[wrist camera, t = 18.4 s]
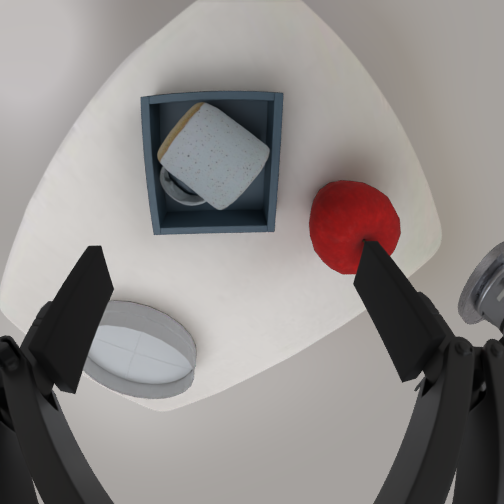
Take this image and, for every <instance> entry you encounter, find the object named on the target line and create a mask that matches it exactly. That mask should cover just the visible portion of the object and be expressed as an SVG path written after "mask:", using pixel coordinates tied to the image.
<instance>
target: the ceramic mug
mask: <svg viewBox="0 0 504 504" xmlns="http://www.w3.org/2000/svg"><path fill="white" fill-rule="evenodd" d="M269 151H270V149H269V148H268V146H267V145H265V144H264V143H263V142H262V141H260V140H259V139H258V138H256V137H255V136H254V135H253V134H251V133H250V132H249V131H247V130H246V129H245V128H244V127H242V126H241V125H239V124H238V123H237V122H235V121H234V120H233V119H231V118H230V117H229V116H227V115H226V114H225V113H223V112H222V111H221V110H219V109H218V108H216V107H214V106H212V105H210V104H208V103H205V102H200V103H196V104H195V105H194V106H192V107H191V108H190V109H189V110H188V111H187V112H186V114H185V115H184V116H183V117H182V118H181V119H180V120H179V121H178V123H177V124H176V125H175V127H174V128H173V129H172V130H171V131H170V133H169V134H168V136H167V137H166V139H165V140H164V142H163V143H162V145H161V147H160V148H159V150H158V153H157V157H158V160H159V162H160V163H161V164H162V165H163V167H162V169H161V171H160V182H161V185H162V187H163V189H164V190H165V191H166V193H167V194H168V195H169V196H170V197H172V198H173V199H174V200H176V201H177V202H179V203H182V204H184V205H190V206H193V205H199V204H203V203H205V202H208V203H209V204H211V205H212V206H213V207H214V208H216V209H218V210H222V209H224V208H226V207H228V206H229V205H230V204H232V203H233V202H234V201H235V200H236V199H238V197H239V196H240V195H241V194H242V193H243V192H244V191H245V190H246V189H247V188H248V186H249V185H250V184H251V183H252V181H253V180H254V179H255V178H256V177H257V175H258V174H259V173H260V171H261V170H262V168H263V167H264V165H265V162H266V161H267V159H268V157H269ZM168 171H169V172H170V173H171V174H172V175H174V176H175V177H176V178H178V179H179V180H181V181H182V182H184V183H185V184H186V185H187V186H188V187H190V188H191V189H192V190H193V191H195V192H196V193H197V194H198V196H195V195H189V194H187V193H185V192H184V191H182V190H181V189H180V188H179V187H178V186H177V185H175V184H174V182H173V181H172V180H170V178H169V175H168Z"/></svg>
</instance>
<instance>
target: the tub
mask: <svg viewBox="0 0 504 504" xmlns="http://www.w3.org/2000/svg"><path fill="white" fill-rule="evenodd" d="M200 102H205V103H208V104H210V105H212V106H214V107H216V108H218V109H219V110H221V111H222V112H223V113H225V114H226V115H227V116H229V117H230V118H231V119H233V120H234V121H235V122H237V123H238V124H239V125H241V126H242V127H244V128H245V129H246V130H247V131H249V132H250V133H251V134H253V135H254V136H255V137H256V138H258V139H259V140H260V141H262V142H263V143H264V144H265V145H267V146H268V148H269V149H270V151H269V157H268V159H267V161H266V162H265V165H264V167H263V168H262V170H261V171H260V173H259V174H258V175H257V177H256V178H255V179H254V180H253V181H252V183H251V184H250V185H249V186H248V188H247V189H246V190H245V191H244V192H243V193H242V194H241V195H240V196H239V197H238V199H236V200H235V201H234V202H233V203H232V204H230V205H229V206H228V207H226V208H224V209H222V210H218V209H216V208H214V207H213V206H212V205H211V204H209V203H208V202H205V203H203V204H199V205H193V206H190V205H184V204H182V203H179V202H177V201H176V200H174V199H173V198H172V197H170V196H169V195H168V194H167V193H166V191H165V190H164V189H163V187H162V185H161V182H160V171H161V169H162V167H163V165H162V164H161V163H160V162H159V160H158V157H157V153H158V150H159V148H160V147H161V145H162V143H163V142H164V140H165V139H166V137H167V136H168V134H169V133H170V131H171V130H172V129H173V128H174V127H175V125H176V124H177V123H178V121H179V120H180V119H181V118H182V117H183V116H184V115H185V114H186V112H187V111H188V110H189V109H190V108H191V107H192V106H194V105H195V104H196V103H200ZM282 111H283V93H278V92H259V91H206V92H187V93H174V94H163V95H154V96H145V97H141V119H142V135H143V149H144V160H145V171H146V180H147V189H148V197H149V205H150V212H151V219H152V226H153V232H154V235H167V234H200V233H243V232H274V231H275V218H276V205H277V191H278V177H279V162H280V146H281V129H282ZM168 175H169V178H170V180H172V181H173V182H174V184H175V185H177V186H178V187H179V188H180V189H181V190H182V191H184V192H185V193H187V194H189V195H195V196H198V194H197V193H196V192H195V191H193V190H192V189H191V188H190V187H188V186H187V185H186V184H185V183H184V182H182V181H181V180H179V179H178V178H176V177H175V176H174V175H172V174H171V173H170V172H169V171H168Z"/></svg>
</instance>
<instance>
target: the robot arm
mask: <svg viewBox="0 0 504 504" xmlns="http://www.w3.org/2000/svg"><path fill="white" fill-rule="evenodd" d="M353 285H354V286H355V288H356V290H357V292H358V294H359V296H360V297H361V299H362V301H363V303H364V305H365V307H366V309H367V311H368V313H369V315H370V317H371V318H372V320H373V322H374V324H375V326H376V328H377V330H378V332H379V334H380V336H381V338H382V340H383V342H384V345H385V347H386V349H387V351H388V353H389V355H390V357H391V359H392V361H393V363H394V366H395V368H396V370H397V372H398V374H399V376H400V379H401V381H402V382H405V381H409V380H412V379H416V378H417V377H418V375H419V374H420V373H421V371H422V370H423V372H424V374H425V377H424V378H423V379H422V381H421V382H420V383H419V384H418V385H417V387H416V388H415V390H414V391H417V390H418V389H419V387H420V390H419V394H418V397H417V400H416V404H415V407H414V410H413V413H412V416H411V419H410V422H409V425H408V428H407V431H406V433H405V436H404V439H403V441H402V444H401V447H400V449H399V451H398V454H397V456H396V458H395V461H394V463H393V465H392V467H391V470H390V472H389V474H388V476H387V478H386V480H385V482H384V484H383V486H382V488H381V490H380V492H379V494H378V496H377V498H376V500H375V502H374V503H373V504H444V503H445V501H446V498H447V495H448V493H449V490H450V487H451V484H452V481H453V478H454V475H455V471H456V468H457V471H456V481H455V489H454V497H453V502H452V504H504V264H503V265H501V266H500V267H499V268H498V269H497V270H496V271H495V272H494V273H493V274H492V275H491V276H490V278H489V279H488V280H487V282H486V283H485V285H484V286H483V288H482V290H481V291H480V293H479V295H478V298H477V301H476V305H475V309H476V311H477V313H478V314H479V315H480V316H481V317H482V318H483V319H485V320H487V321H488V322H490V323H491V324H493V325H495V326H496V327H498V328H499V330H500V331H501V333H502V334H503V337H502V338H501V339H500V340H499V341H497V340H495V339H490V340H488V341H487V343H486V344H485V345H484V347H473V346H472V344H471V343H470V342H469V341H468V340H466V339H465V338H463V337H455V335H454V334H453V332H452V331H451V329H450V328H449V326H448V325H447V323H446V322H445V320H444V319H443V317H442V316H441V315H440V314H439V312H438V310H437V309H436V308H435V306H434V305H433V303H432V302H431V300H430V299H429V298H428V297H427V296H426V295H424V294H423V293H422V292H417V291H416V290H415V289H414V287H413V286H412V285H411V283H410V282H409V281H408V279H407V278H406V276H405V275H404V274H403V273H402V271H401V270H400V269H399V267H398V266H397V265H396V263H395V262H394V261H393V260H392V258H391V257H390V256H389V255H388V253H387V252H386V251H385V250H384V248H383V247H382V246H381V245H380V243H379V242H378V241H365V243H364V247H363V250H362V254H361V258H360V262H359V265H358V269H357V272H356V276H355V279H354V283H353ZM113 290H114V288H113V285H112V281H111V278H110V275H109V272H108V268H107V265H106V261H105V258H104V254H103V251H102V247H101V246H88V247H87V249H86V250H85V252H84V253H83V254H82V256H81V257H80V259H79V260H78V262H77V263H76V265H75V266H74V268H73V269H72V271H71V272H70V274H69V275H68V277H67V279H66V280H65V282H64V283H63V285H62V287H61V288H60V290H59V291H58V293H57V295H56V296H55V298H54V300H53V301H48V302H47V303H46V304H45V305H44V306H43V307H42V308H41V309H40V311H39V313H38V314H37V316H36V319H35V320H34V322H33V323H32V326H31V327H30V329H29V331H28V333H27V335H26V336H25V338H24V340H23V342H22V344H21V347H20V348H19V346H18V345H17V344H16V342H15V341H14V339H13V338H12V337H11V336H2V337H0V504H39V503H38V500H37V496H36V492H35V489H34V485H33V481H34V483H35V486H36V488H37V490H38V492H39V494H40V496H41V498H42V500H43V502H44V504H114V503H113V501H112V500H111V499H110V497H109V496H108V494H107V493H106V491H105V490H104V488H103V487H102V485H101V484H100V482H99V481H98V479H97V477H96V476H95V474H94V473H93V471H92V469H91V467H90V466H89V464H88V462H87V460H86V459H85V457H84V455H83V453H82V452H81V450H80V448H79V446H78V444H77V442H76V440H75V438H74V436H73V434H72V432H71V430H70V428H69V425H68V423H67V421H66V419H65V416H64V414H63V412H62V409H61V407H60V405H59V402H58V400H57V397H56V394H55V393H54V391H53V390H52V388H53V385H54V383H55V385H56V386H57V387H58V388H59V389H60V391H64V392H68V393H73V394H75V393H76V390H77V387H78V383H79V380H80V377H81V374H82V371H83V368H84V365H85V362H86V359H87V356H88V353H89V350H90V348H91V345H92V342H93V339H94V337H95V334H96V332H97V329H98V326H99V324H100V321H101V319H102V316H103V314H104V311H105V309H106V307H107V304H108V302H109V300H110V297H111V295H112V293H113ZM32 479H33V481H32Z"/></svg>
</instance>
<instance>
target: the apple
mask: <svg viewBox="0 0 504 504" xmlns="http://www.w3.org/2000/svg"><path fill="white" fill-rule="evenodd" d="M309 229H310V237H311V241H312V244H313V247H314V251H315V252H316V253H317V254H318V256H319V257H320V258H321V260H322V261H323V262H324V263H325V264H326V265H328V266H329V267H330V268H331V269H333V270H335V271H337V272H339V273H341V274H356V272H357V269H358V265H359V262H360V258H361V254H362V250H363V247H364V243H365V241H378V242H379V243H380V245H381V246H382V247H383V248H384V250H385V251H386V252H387V253H388V255H389V256H390V255H391V254H392V253H393V251H394V250H395V248H396V245H397V243H398V240H399V237H400V234H401V231H400V219H399V217H398V215H397V213H396V211H395V209H394V207H393V206H392V204H391V202H390V200H389V198H388V197H387V196H386V195H384V194H383V193H382V192H380V191H379V190H377V189H376V188H374V187H371V186H369V185H367V184H365V183H361V182H354V181H342V180H340V181H336V182H332V183H329V184H327V185H326V186H325V187H323V188H322V189H320V190H319V192H318V194H317V195H316V197H315V199H314V200H313V204H312V208H311V213H310V220H309Z"/></svg>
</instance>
